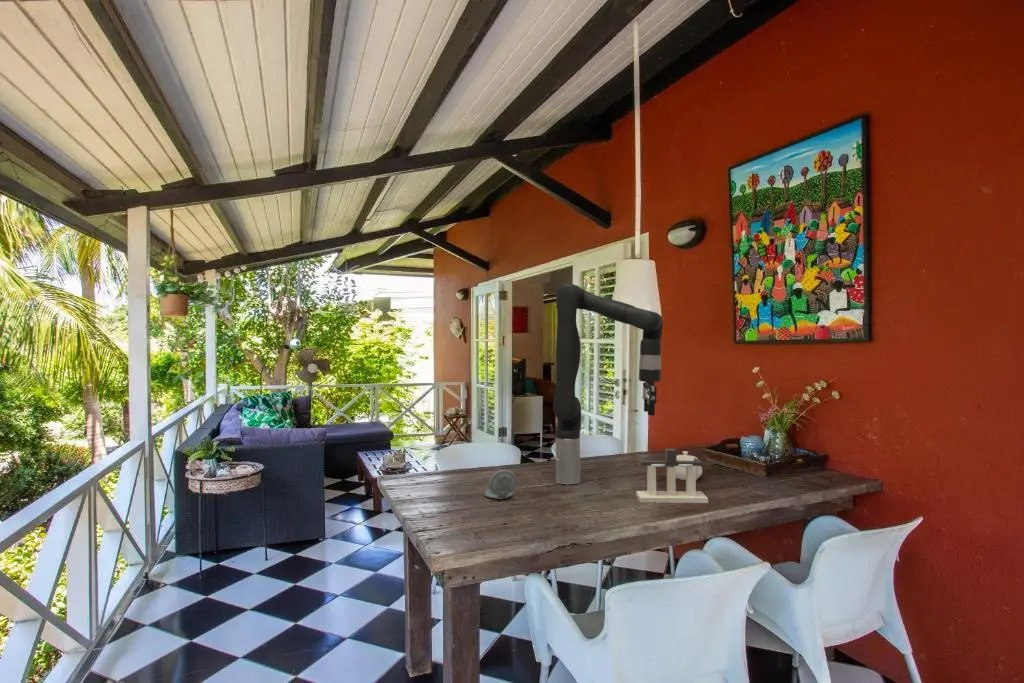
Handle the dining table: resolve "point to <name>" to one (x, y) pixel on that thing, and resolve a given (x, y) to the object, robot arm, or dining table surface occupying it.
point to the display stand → (671, 488)
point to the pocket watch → (501, 484)
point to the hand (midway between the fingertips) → (649, 413)
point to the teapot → (681, 471)
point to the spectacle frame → (670, 461)
